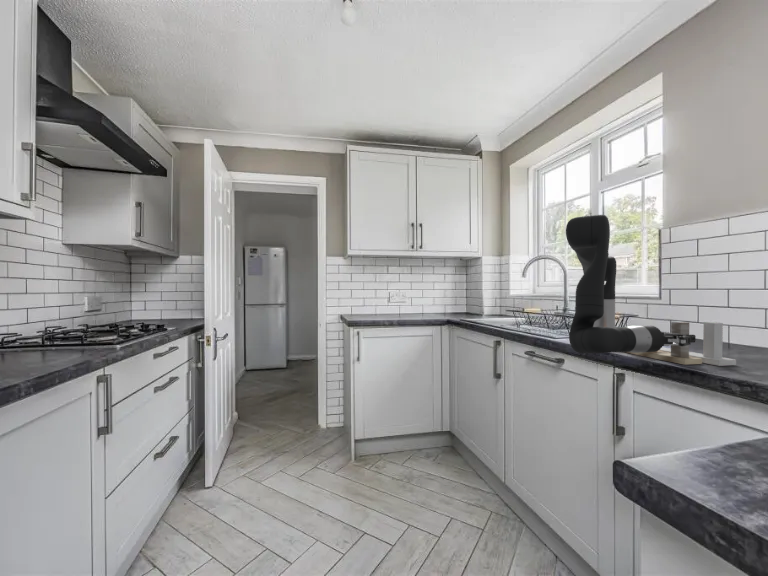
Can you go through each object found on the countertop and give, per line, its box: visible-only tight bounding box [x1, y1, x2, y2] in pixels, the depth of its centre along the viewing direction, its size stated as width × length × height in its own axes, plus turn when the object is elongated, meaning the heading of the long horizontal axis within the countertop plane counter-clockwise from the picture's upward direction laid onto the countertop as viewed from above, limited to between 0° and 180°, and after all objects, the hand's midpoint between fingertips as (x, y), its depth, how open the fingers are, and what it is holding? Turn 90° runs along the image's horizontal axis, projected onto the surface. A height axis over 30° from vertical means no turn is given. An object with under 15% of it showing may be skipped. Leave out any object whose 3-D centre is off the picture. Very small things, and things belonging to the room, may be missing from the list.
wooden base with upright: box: [625, 321, 703, 366], centre depth 120 cm, size 22×6×12 cm, turn 13°
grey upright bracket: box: [658, 321, 737, 367], centre depth 118 cm, size 22×6×12 cm, turn 13°
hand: (687, 337), depth 113 cm, fingers closed on wooden base with upright, 3 cm apart
